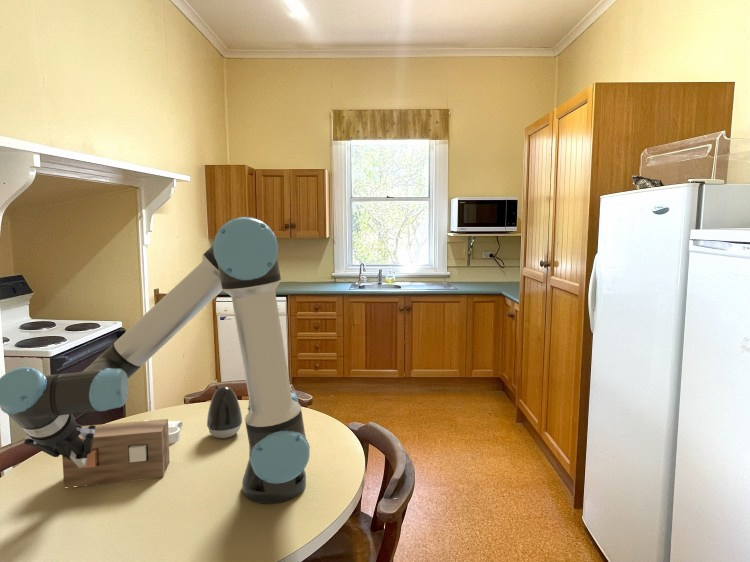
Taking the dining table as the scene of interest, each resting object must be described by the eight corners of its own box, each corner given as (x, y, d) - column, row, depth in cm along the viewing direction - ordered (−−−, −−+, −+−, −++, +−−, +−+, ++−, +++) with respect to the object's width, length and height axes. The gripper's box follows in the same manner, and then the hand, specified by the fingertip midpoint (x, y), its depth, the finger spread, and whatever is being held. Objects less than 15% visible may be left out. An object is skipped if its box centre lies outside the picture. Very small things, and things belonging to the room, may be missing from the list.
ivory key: (145, 460, 112) (145, 446, 112) (129, 462, 111) (129, 448, 111) (150, 451, 117) (149, 438, 116) (135, 453, 116) (134, 439, 115)
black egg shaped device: (232, 424, 146) (231, 379, 145) (248, 435, 139) (247, 386, 137) (201, 434, 139) (200, 386, 138) (216, 445, 132) (215, 394, 130)
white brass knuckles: (192, 429, 144) (169, 450, 129) (137, 427, 145) (108, 448, 130) (192, 418, 144) (169, 439, 129) (137, 417, 144) (107, 437, 130)
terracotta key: (95, 466, 109) (94, 452, 108) (78, 468, 108) (77, 454, 108) (102, 457, 114) (101, 443, 113) (86, 458, 113) (85, 444, 112)
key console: (163, 477, 114) (161, 431, 113) (64, 488, 109) (61, 440, 108) (169, 462, 122) (167, 418, 121) (77, 471, 116) (74, 426, 115)
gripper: (2, 442, 85) (47, 480, 103) (80, 435, 89) (111, 474, 106) (15, 405, 90) (56, 448, 108) (89, 399, 93) (117, 442, 111)
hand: (83, 460), depth 107 cm, fingers closed
